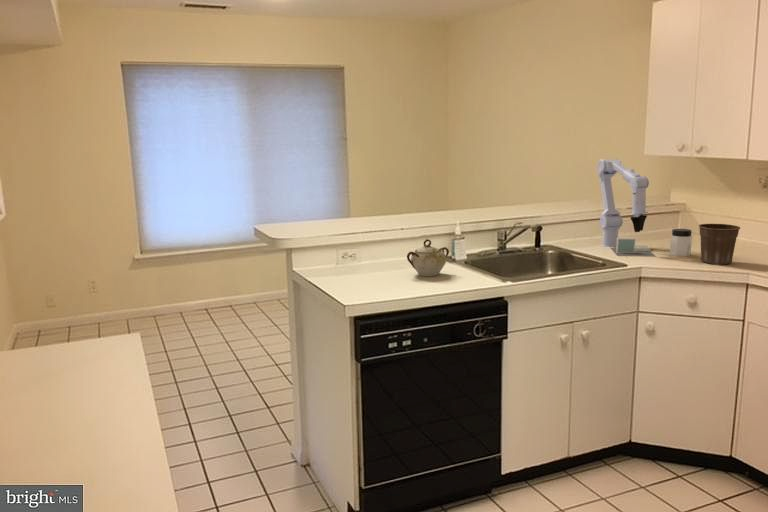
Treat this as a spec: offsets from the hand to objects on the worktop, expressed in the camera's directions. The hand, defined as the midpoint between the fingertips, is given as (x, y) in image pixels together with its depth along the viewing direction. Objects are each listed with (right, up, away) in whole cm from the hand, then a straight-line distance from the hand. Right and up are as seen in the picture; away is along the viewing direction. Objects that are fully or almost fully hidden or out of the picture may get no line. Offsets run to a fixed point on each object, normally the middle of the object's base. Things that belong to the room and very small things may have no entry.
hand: (638, 231), depth 303 cm
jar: (+18, -12, -4) cm, 22 cm away
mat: (-2, -10, +4) cm, 11 cm away
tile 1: (-5, -10, +2) cm, 12 cm away
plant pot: (+26, -15, -21) cm, 37 cm away
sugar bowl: (-102, -20, -34) cm, 109 cm away
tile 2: (+4, -9, +8) cm, 13 cm away
